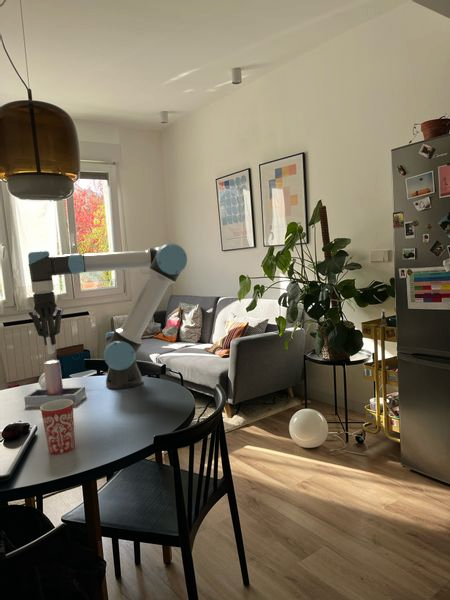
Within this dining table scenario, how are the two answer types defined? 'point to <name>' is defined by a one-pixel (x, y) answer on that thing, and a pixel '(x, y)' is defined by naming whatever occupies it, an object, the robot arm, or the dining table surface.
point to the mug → (59, 425)
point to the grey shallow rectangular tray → (54, 396)
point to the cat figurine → (42, 381)
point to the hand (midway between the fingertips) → (51, 353)
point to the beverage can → (53, 377)
